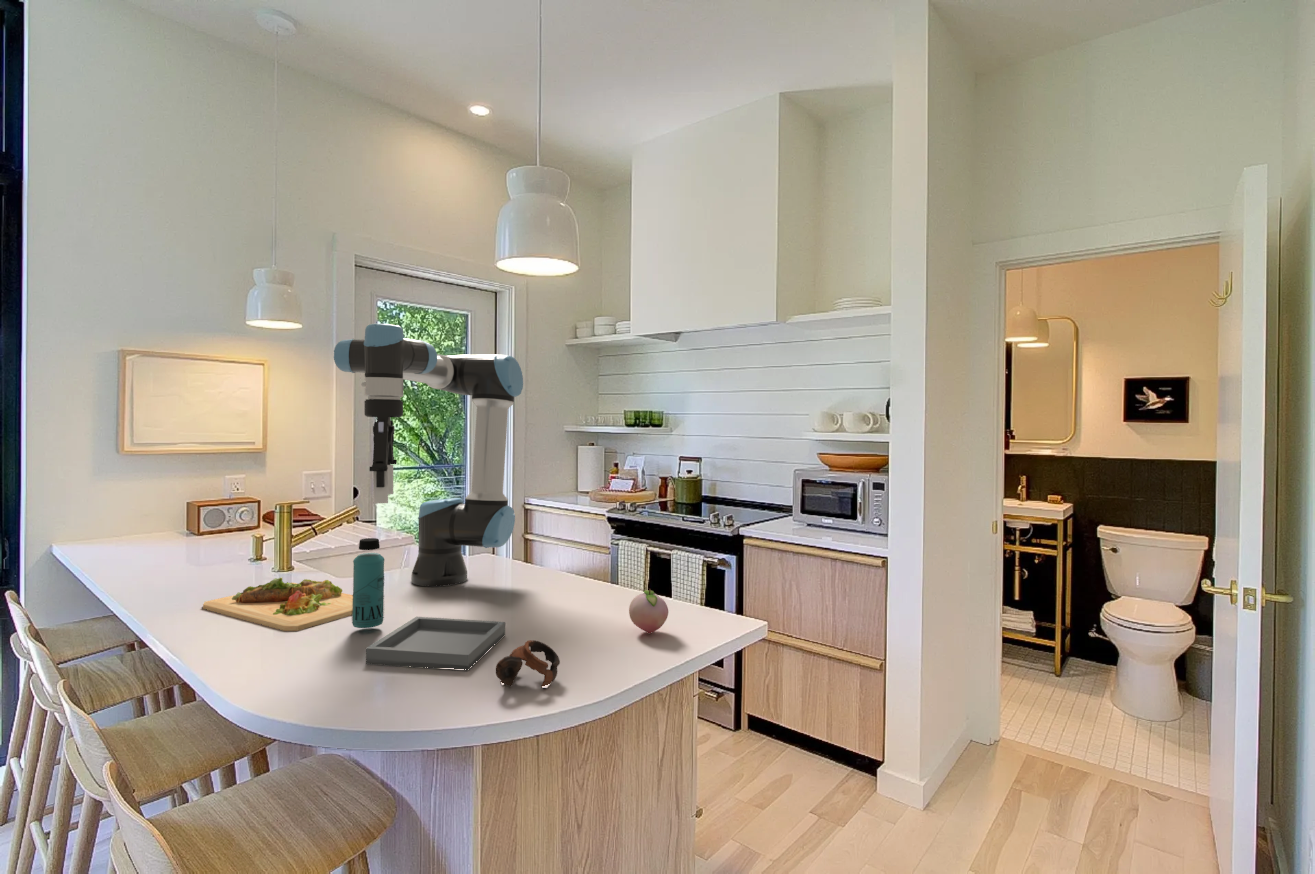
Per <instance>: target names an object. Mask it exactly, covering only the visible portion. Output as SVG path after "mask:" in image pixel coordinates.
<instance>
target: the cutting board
mask: <svg viewBox="0 0 1315 874" xmlns="http://www.w3.org/2000/svg"><path fill="white" fill-rule="evenodd" d="M352 599H353V594H349V593H344V592H343V589H342V588H341V587H340V586H338V585H335V584H334V583H333V582H332V581H330V580H329V579H325V580H323V581H318V580H312V579H307V578H306V579H305V578H304V579H302V581H300V582H299V583H297V582H284V581H283V577H282V576H281V577H278V578H273V579H272V580H270V581H269V582H267V583H265V584H259V585H258V586H252V585H251V586H248V587H246V588H245V589H243V590H242V592H237V593H236V594H232V595H228V596H225V597H219V598H215V599H211V600H206V601H204V602H203V604H202V605H203V606H202V609H203V610H205V609H207V610H206V611H209V610H210V611H209V612H213V611H214V612H213V613H216V612H217V614H220V613H221V615H223V616H227V617H231V618H236V619H239V620H242V621H243V620H244V621H245V622H246V621H247V622H250V623H253V622H254V624H257V625H261V624H262V625H261V626H265V627H268V626H269V628H272V629H276V630H279V629H280V631H283V632H299V631H303V630H305V629H309V628H312V626H313V627H316V626H319V625H323V624H326V623H329V622H333V621H335V620H340V619H343V618H346V617H350V616H352V611H353V606H352V605H353V600H352Z"/></svg>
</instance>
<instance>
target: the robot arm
mask: <svg viewBox="0 0 1315 874" xmlns="http://www.w3.org/2000/svg"><path fill="white" fill-rule="evenodd" d="M333 360H334V364H335V366H336V367H337V368H338V369H339V370H340V371H342V372H345V373H352V374H355V373H362V374H363V373H364V381H362V382H361V386H362V387H365V388H364V396H365V397H367V398H365V400H364V416H365V417H367V418H376V421H374V423H373V426H372V434H373V436H372V437H373V439H372V440H373V452H372V453H373V454H372V465H371V466H369V472H372V473H373V475H372V476H373V479H372V481H373V483H372V485H373V487H372V488H373V489H372V492H373V493H372V494H373V496H372V497H373V498H372V501H373V502H372V503H373V504H374V505H375V504H388V503H389V495H394V465H397V459H395V457H394V456H395V455H394V441H395V437H394V436H395V425H394V422H393V420H391V419H392V418H402V417H403V416H404V401H403V400H402V399H401V398H402V397H404V380H406V381H410V382H411V381H412V382H416V383H421V384H426V385H427V386H428V387H430V388H432V389H435V390H440V391H444V392H448V393H453V394H456V395H461V396H471V402H472V403H473V404H474V405H475V406H476V412H475V413H476V414H475V415H476V417H475V428H474V429H475V430H474V431H475V433H474V443H473V444H474V445H473V446H474V447H473V448H474V449H473V461H472V462H473V463H472V475H471V477H472V479H471V490H470V491H471V492H470V493H469V494H468V495H467V496H466V497H465V498H464V501H463V499H462V497H452V498H451V497H449V498H441V499H440V498H439V499H433V500H428V501H424V502H422V503H421V504H420V505H419V508H418V509H419V511H418V516H417V519H418V554H417V557H416V560H415V563H414V566H413V568H412V572H411V580H410V582H411V583H412V584H413V585H416V586H421V587H448V586H453V585H459V584H461V583H464V582H466V581H467V580H468V570H467V566H466V563H465V560H464V556H463V554H462V546H465V547H466V546H467V547H478V548H479V547H480V548H485V549H487V548H501V547H503V546H504V545H505V544H506V543H508V542H509V539H510V538H511V536H512V533H513V531H514V528H515V522H516V514H515V510H514V509H513V507H511V506H510V505H508V504H509V503H508V502H509V498H507V497H506V495H505V494H504V478H505V463H506V447H507V444H506V443H507V430H508V414H509V409H510V408H511V407H512V406H513V405H514V403H515V398H517V397H518V396H520V395H521V394H522V390H523V389H524V377H523V371H522V368H521V365H520V364H519V362H518V360H517V359H516V358H515V357H513V356H512V355H509V354H499V353H496V354H493V353H492V354H491V353H490V354H455V355H446V354H445V355H444V354H439V353H437V350H436V348H435V346H433V345H432V344H431V343H429V342H427V341H424V340H422V339H412V338H406V337H405V335H404V330H403V328H402V327H401V326H400V325H397V324H396V325H395V324H392V323H391V324H389V323H371V324H368V325H366V327H365V329H364V339H355V338H351V339H342V340H340V341H338V342H337V343H336V345H335V346H334V349H333Z"/></svg>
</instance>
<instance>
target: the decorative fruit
mask: <svg viewBox="0 0 1315 874" xmlns="http://www.w3.org/2000/svg"><path fill="white" fill-rule="evenodd" d="M648 589H649V590H648ZM648 589H645V590H644V591H642V592H643V593H640V594H638V595H635V597H633V599H631V601H630V602H629V603H630V604H629V607H628V613H629V614H628V615H629V618H630V620H631V622H632V623H633V625H635V626H636V627H638V628H639V629H640V630H642V631H644V632H646V633H647V632H648V633H650V634H652V633H654V632H657V630H659V629H660V628H661V627H663V625H664V624H665V622H666V621H667V619H668V616H669V607H668V604H667V603H666V601H665V600H664V599H663V598H661V597H660V596H659V595H658V594H656V593H655V592H654V590H651V588H648ZM651 632H652V633H651ZM648 633H647V634H648Z"/></svg>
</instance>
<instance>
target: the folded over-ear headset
mask: <svg viewBox="0 0 1315 874" xmlns="http://www.w3.org/2000/svg"><path fill="white" fill-rule="evenodd" d="M534 653H544V657H545V661H544V660H542V659H540V658H538V657H537V656H536V655H535V654H534ZM523 661H524V662H525V663H524V665H525V666H527V667H528V668H530V669H531V670H533V671H536V672H537V673H539V674H541V675H542V676H543V681H542V683H541V685H540V687H541V686H545V685H548V684H550V683H551V684H552V682H554V681H555V680H556V678H557V676H558V667H559V665H560V664H561V662H560V661H561V660H560V656H559V655H558V654H557V653H556V651H555V650H554V649H553V648H551V647H550V646H549V645H547V644H546V643H545V642H542V641H539V640H534V639H529V640H527V641H525V642H524V644H523V645H519V646H517V647H516V648H515V649H513V650H512V651H511V652H510V654H509V655H507V656H505V657H503V658H502V659H500V660H499V661H498V662H497V663H496V666H495V675H496V677H497V679H499V681H500V680H501V681H500V683H501V682H502V683H504V685H505V686H507V687H512V686H513V685H514V683H515V680H516V677H517V676H518V673H519V672H520V671H521V669H522V666H523ZM546 661H548V662H550V663H551V664H550V667H549V663H548V662H546ZM548 668H549V669H548Z"/></svg>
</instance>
